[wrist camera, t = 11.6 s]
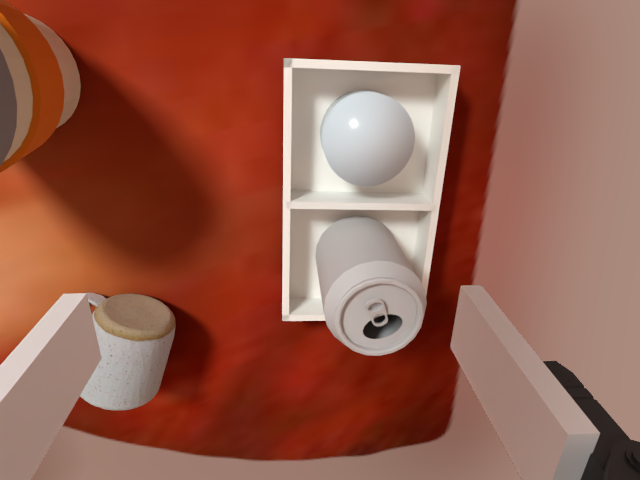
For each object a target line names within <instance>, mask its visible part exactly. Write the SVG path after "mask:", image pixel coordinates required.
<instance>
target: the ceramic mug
mask: <svg viewBox="0 0 640 480" xmlns="http://www.w3.org/2000/svg"><path fill="white" fill-rule="evenodd" d="M87 297H88V301H89V303H91V304H92V305H95V306H96V307H97V308H96V309H95V311H94V313H93V314H92V318H93V322H94V327H95V331H96V335H97V339H98V344H99V348H100V352H101V357H102V358H101V360H100V362H99V364H98V365H97V367H96V369H95V370H94V372H93V374H92V376H91V377H90V379H89V381H88V382H87V384H86V386H85V388H84V389H83V391H82V393H81V395H80V397H82V398H83V399H84V400H85V401H87V402H88V403H90V404H92V405H94V406H96V407H100V408H103V409H108V410H129V409H134V408H137V407H140V406H142V405H144V404H146V403H147V402H149V401H150V400H151V399H152V398H153V397H154V396H155V395H156V394H157V392H158V390H159V388H160V385H161V381H162V377H163V374H164V371H165V367H166V363H167V360H168V356H169V353H170V349H171V346H172V342H173V339H174V335H175V326H176V322H175V317H174V314H173V312H172V311H171V310H170V309H169V308H168V307H167V306H166V305H165V304H163V303H162V302H161V301H159V300H157V299H154V298H152V297H149V296H145V295H140V294H120V295H115V296H112V297H109V298H107V299H106V298H105V297H104V296H102V295H99V294H96V293H87Z"/></svg>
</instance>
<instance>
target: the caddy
mask: <svg viewBox="0 0 640 480" xmlns="http://www.w3.org/2000/svg"><path fill="white" fill-rule="evenodd" d="M460 67H461V66H460V65H436V64H412V63H388V62H364V61H340V60H316V59H292V58H284V119H283V277H282V321H326V320H325V316H324V311H323V305H322V298H321V292H320V285H319V278H318V272H317V265H316V259H315V255H316V246H317V243H318V241H319V239H320V237H321V235H322V233H323V232H324V231H325V230H326V229H327V228H328V227H329V226H330V225H331V224H333V223H335V222H337V221H338V220H340V219H342V218H346V217H350V216H355V215H357V216H368V217H371V218H373V219H376V220H378V221H380V222H381V223H383V224H384V225H385V226H386V227H387V228H388V229H389V230H390V232H391V233H392V235H393V237H394V238H395V240H396V242H397V243H398V245H399V246H400V248H401V250H402V251H403V253H404V255H405V256H406V258H407V260H408V261H409V263H410V265H411V266H412V268H413V269H414V271H415V273H416V274H417V276H418V278H419V280H420V281H421V283H422V285H423V287H424V289H425V293H426V295H427V288H428V281H429V274H430V268H431V261H432V254H433V248H434V241H435V234H436V227H437V221H438V214H439V207H440V201H441V194H442V187H443V181H444V174H445V167H446V160H447V154H448V147H449V140H450V134H451V127H452V120H453V113H454V107H455V100H456V93H457V87H458V80H459V73H460ZM354 90H371V91H375V92H378V93H380V94H383V95H386V96H388V97H391V98H392V99H394V100H396V101H397V102H398V103H400V104H401V105H402V106H403V107H404V108H405V110H406V111H407V112H408V114H409V116H410V118H411V120H412V123H413V126H414V132H415V143H414V149H413V152H412V155H411V157H410V159H409V161H408V163H407V164H406V166H405V167H404V168H403V170H402V171H401V172H400V173H399V174H398V175H396V176H395V177H394V178H392V179H391V180H389V181H387V182H385V183H383V184H380V185H376V186H358V185H354V184H351V183H348V182H346V181H345V180H343V179H342V178H340V177H339V176H338V175H337V174H336V173H335V172H334V171H333V170H332V169H331V167H330V165H329V164H328V161H327V159H326V157H325V154H324V152H323V149H322V146H321V142H320V126H321V121H322V119H323V116H324V114H325V112H326V110H327V109H328V107H329V106H330V105H331V104H332V103H333V102H334V101H335V100H336V99H337V98H339V97H340V96H342V95H343V94H346V93H348V92H351V91H354Z"/></svg>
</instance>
